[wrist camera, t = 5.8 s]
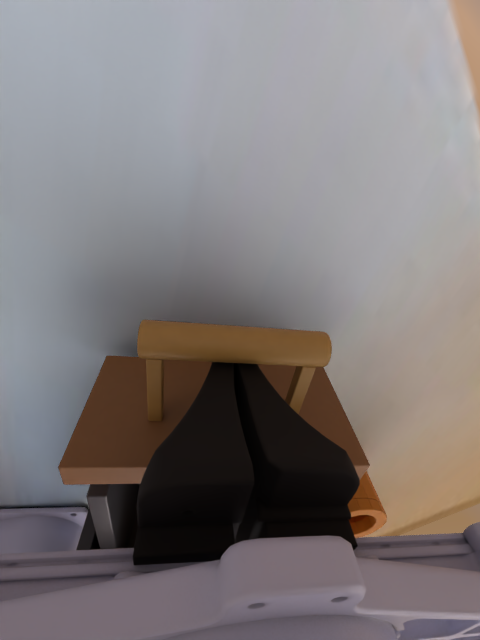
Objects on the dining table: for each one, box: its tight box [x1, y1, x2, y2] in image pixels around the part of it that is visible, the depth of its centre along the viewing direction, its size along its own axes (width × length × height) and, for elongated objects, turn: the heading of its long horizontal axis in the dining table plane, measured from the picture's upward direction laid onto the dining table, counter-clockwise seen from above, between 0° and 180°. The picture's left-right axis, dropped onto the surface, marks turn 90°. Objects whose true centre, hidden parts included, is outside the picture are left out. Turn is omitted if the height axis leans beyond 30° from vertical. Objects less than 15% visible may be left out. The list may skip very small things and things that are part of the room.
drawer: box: [58, 320, 370, 549], centre depth 16 cm, size 17×12×6 cm
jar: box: [348, 471, 387, 538], centre depth 24 cm, size 5×5×5 cm
